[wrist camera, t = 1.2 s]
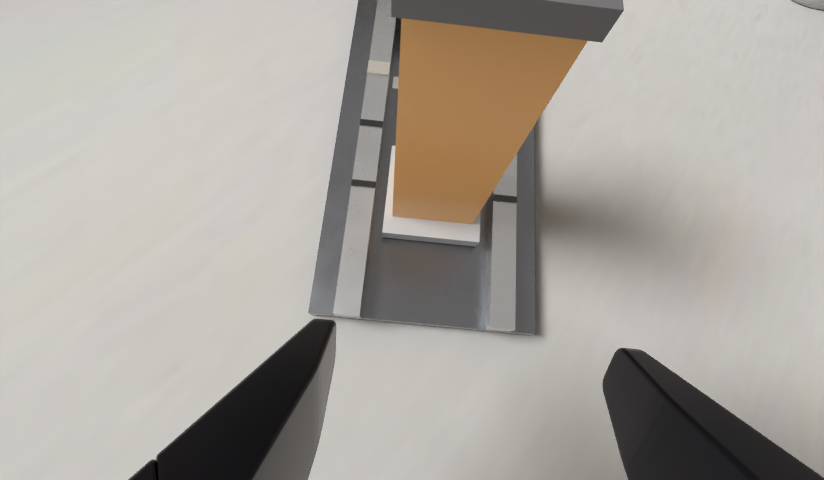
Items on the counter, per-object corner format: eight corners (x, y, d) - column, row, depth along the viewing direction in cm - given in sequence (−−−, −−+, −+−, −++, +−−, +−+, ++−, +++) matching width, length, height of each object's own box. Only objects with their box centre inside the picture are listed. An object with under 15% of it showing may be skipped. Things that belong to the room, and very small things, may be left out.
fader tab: (475, 246, 21) (636, 41, 7) (382, 237, 20) (376, 9, 7) (479, 162, 22) (619, -136, 9) (391, 153, 22) (401, -166, 9)
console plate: (529, 335, 20) (554, 330, 17) (311, 314, 20) (297, 305, 17) (529, 21, 26) (548, -24, 23) (360, 0, 26) (357, -48, 23)
